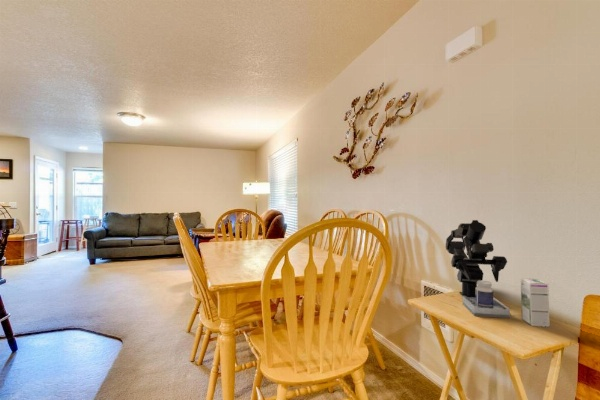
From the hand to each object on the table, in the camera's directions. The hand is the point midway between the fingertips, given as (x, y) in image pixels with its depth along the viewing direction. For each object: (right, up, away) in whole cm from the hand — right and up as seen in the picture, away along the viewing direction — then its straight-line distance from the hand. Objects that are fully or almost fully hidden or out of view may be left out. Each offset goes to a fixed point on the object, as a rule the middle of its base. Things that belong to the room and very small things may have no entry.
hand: (483, 280), depth 109 cm
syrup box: (+10, -11, -12) cm, 19 cm away
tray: (0, -11, -1) cm, 11 cm away
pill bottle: (0, -10, -1) cm, 11 cm away
